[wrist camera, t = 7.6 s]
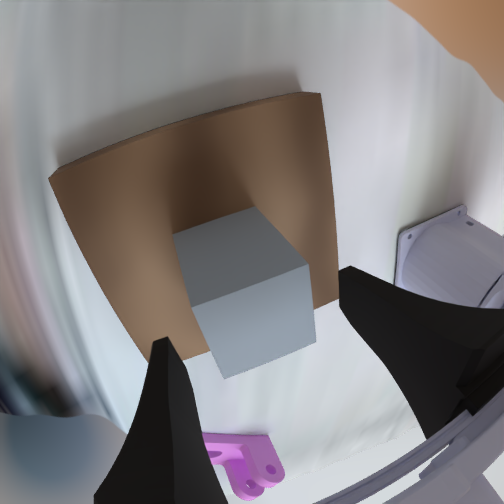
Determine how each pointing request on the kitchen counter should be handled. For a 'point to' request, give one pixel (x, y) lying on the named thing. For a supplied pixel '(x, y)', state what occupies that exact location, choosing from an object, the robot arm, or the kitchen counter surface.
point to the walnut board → (199, 205)
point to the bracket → (246, 462)
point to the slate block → (246, 290)
